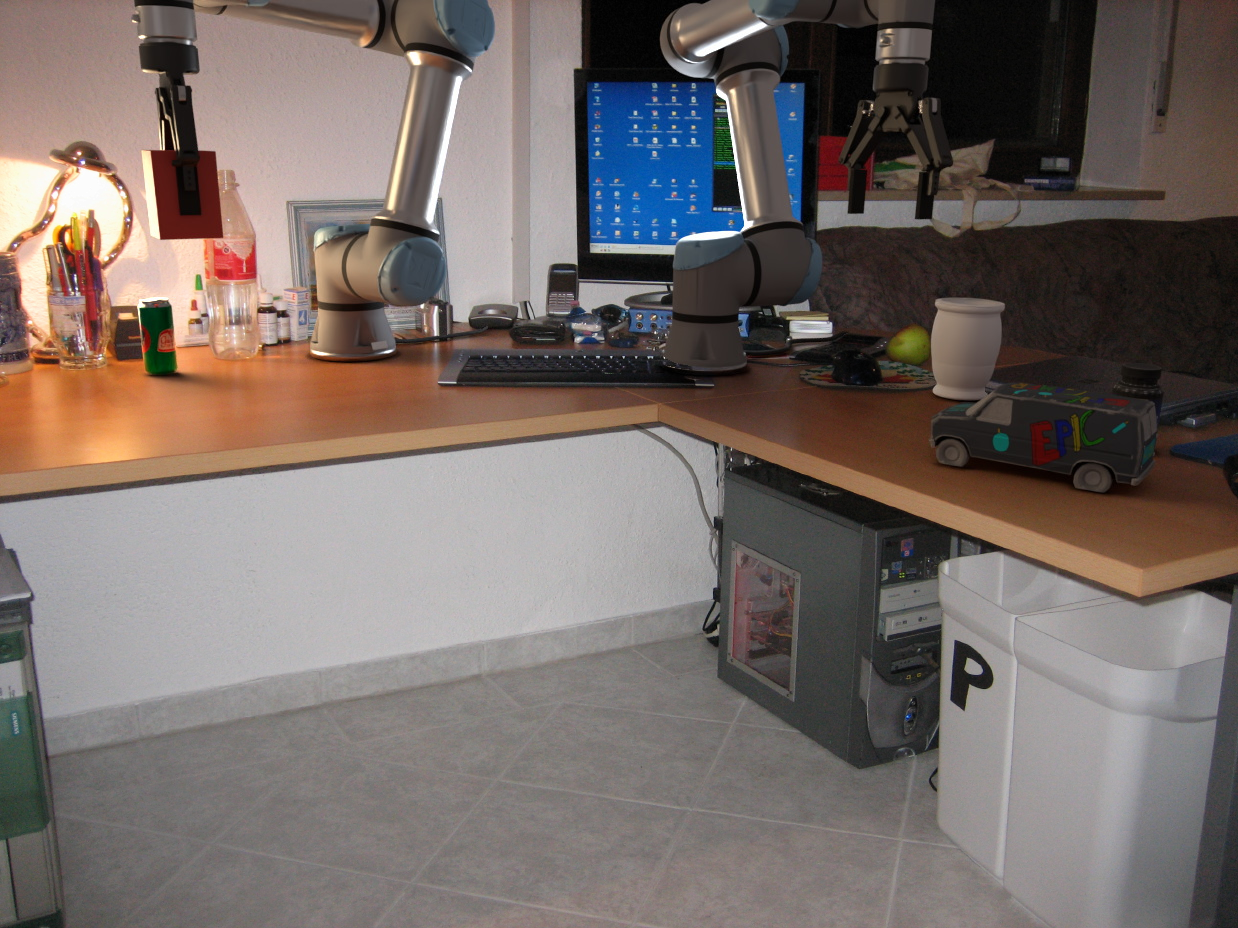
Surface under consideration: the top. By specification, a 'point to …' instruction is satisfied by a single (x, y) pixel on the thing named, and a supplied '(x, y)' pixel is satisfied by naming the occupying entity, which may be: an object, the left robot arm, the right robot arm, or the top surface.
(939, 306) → the jar
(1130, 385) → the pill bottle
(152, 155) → the brick
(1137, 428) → the toy van
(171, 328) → the soda can
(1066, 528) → the top surface
